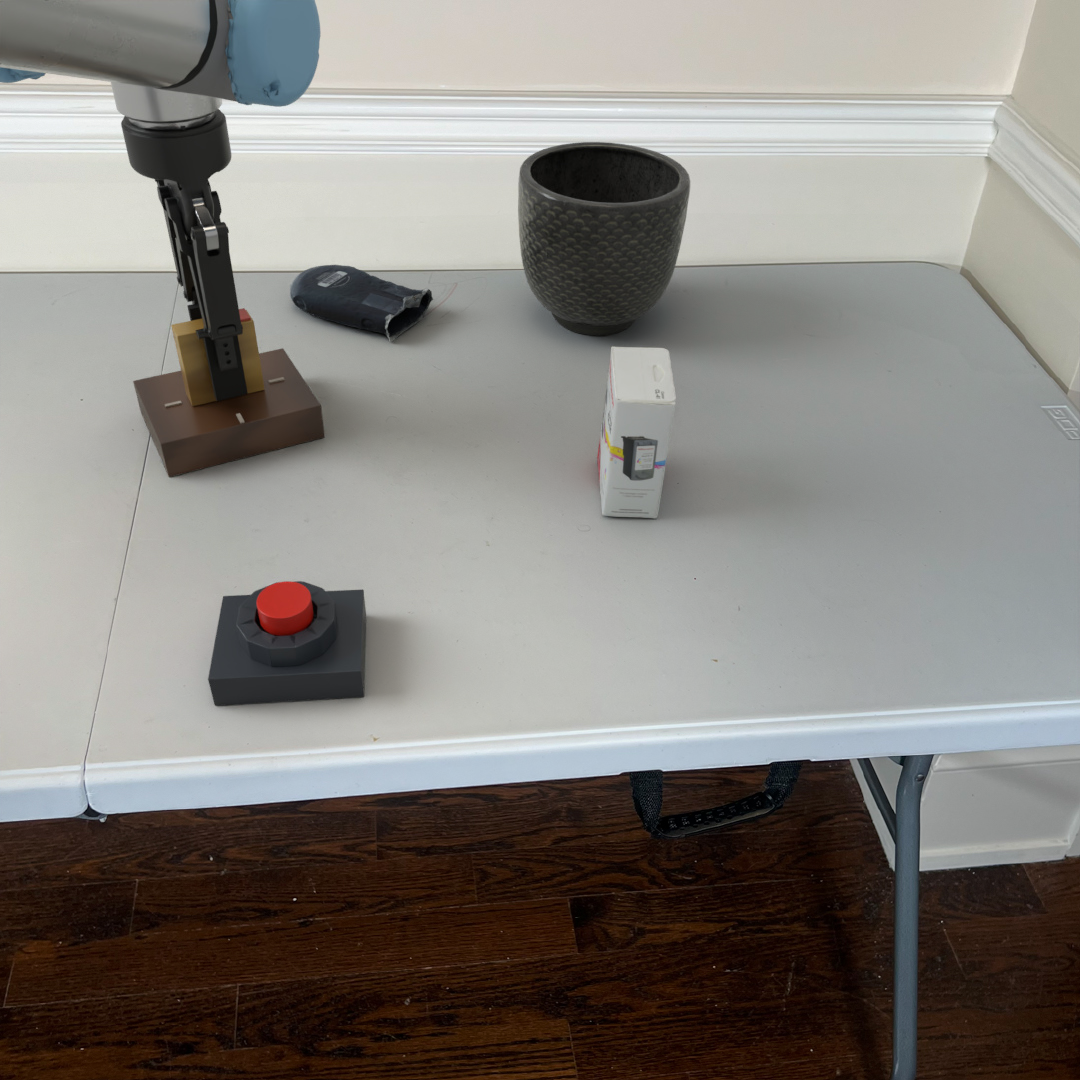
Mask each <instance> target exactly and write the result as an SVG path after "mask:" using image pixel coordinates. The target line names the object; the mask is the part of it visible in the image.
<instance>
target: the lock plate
mask: <svg viewBox="0 0 1080 1080" xmlns="http://www.w3.org/2000/svg"><path fill="white" fill-rule="evenodd" d="M259 357H260V363H261V369H262V376H263V382H264V388H265V390H262V391H257V392H253V393H249V394H246V395H242V396H237V397H233V398H229V399H225V400H220V401H214V402H210V403H206V404H201V405H197V406H192V405H191V403H190V401H189V399H188V397H187V395H186V390H185V386H184V381H183V377H182V372H181V370H177V371H171V372H168V373H163V374H159V375H158V374H157V375H154V376H151V377H144V378H140V379H136V380H133V381H132V383H133V386H134V392H135V394H136V398H137V402H138V406H139V410H140V414H141V416H142V418H143V420H144V423H145V425H146V427H147V430H148V433H149V434H150V437H151V439H152V441H153V444H154V446H155V449H156V451H157V453H158V456H159V458H160V460H161V462H162V465H163V467H164V470H165V472H166V474H167V476H168V478H171V477H176V476H179V475H183V474H187V473H190V472H194V471H198V470H202V469H207V468H210V467H214V466H217V465H222V464H226V463H229V462H230V463H231V462H234V461H238V460H241V459H246V458H250V457H253V456H257V455H262V454H265V453H269V452H272V451H276V450H280V449H281V450H282V449H285V448H288V447H293V446H296V445H300V444H304V443H308V442H312V441H316V440H321V439H323V438H325V437H326V436H325V434H326V433H325V426H324V419H323V418H324V417H323V411H322V410H323V409H322V405H321V403H320V401H319V400H318V399H317V397H316V395H315V394H314V392H312V390H311V388H310V386H309V385H308V384H307V382H306V381H305V379H304V377H303V376H302V374H301V373H300V372H299V369H297V367H296V365H295V364H294V362H293V361H292V360H291V357H290V356H289V355H288V353H287V352H286V351H285V349H284V348H278V349H273V350H269V351H263V352H259Z"/></svg>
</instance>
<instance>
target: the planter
mask: <svg viewBox="0 0 1080 1080" xmlns="http://www.w3.org/2000/svg"><path fill="white" fill-rule="evenodd" d="M517 181H518V182H517V183H518V185H517V186H518V187H517V191H518V192H517V193H518V195H517V196H518V197H517V198H518V200H517V219H518V236H519V247H520V256H521V263H522V266H523V271H524V276H525V278H526V281H527V284H528V286H529V288H530V290H531V292H532V294H533V295H534V297H535V298H536V299H537V300H538V302H539V303H540V305H542V306H543V307H544V308H545V309H546V310H547V311H548V312H550V313H551V315H552V316H553V318H554V320H555V321H556V322H557V323H558V325H560V326H562V327H563V328H565V329H567V330H568V331H571V332H573V333H577V334H581V335H586V336H609V335H614V334H619V333H621V332H623V331H625V330H627V329H628V328H630V327H631V326H632V325H633V324H634V323H635V321H636V320H637V319H638V318H640V317H641V316H643V315H644V314H646V313H647V312H649V311H650V310H651V309H652V308H653V307H654V306H655V305H656V304H657V303H658V302H659V301H660V299H661V298H662V296H663V295H664V293H665V292H666V290H667V288H668V287H669V284H670V282H671V279H672V277H673V274H674V272H675V268H676V265H677V261H678V257H679V253H680V250H681V245H682V241H683V236H684V230H685V226H686V221H687V215H688V214H687V212H688V205H689V199H690V193H691V178H690V174H689V173H688V170H686V168H685V167H684V166H683V165H682V164H681V163H679V162H678V161H677V160H676V159H673V158H671V157H670V156H668V155H665V154H663V153H661V152H658V151H655V150H653V149H649V148H645V147H640V146H637V145H630V144H625V143H616V142H606V141H605V142H603V141H601V142H600V141H583V142H570V143H564V144H559V145H552V146H550V147H546V148H543V149H540V150H539V151H536V152H534V153H532V154H531V155H529V156H528V157H527V158H526V159H525V160H524V161H523V162H522V163H521V165H520V167H519V173H518V180H517Z"/></svg>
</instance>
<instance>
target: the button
mask: <svg viewBox="0 0 1080 1080" xmlns="http://www.w3.org/2000/svg"><path fill="white" fill-rule="evenodd" d="M274 583H275V584H274ZM274 583H272V585H271V584H269V585H270V586H269V585H267V586H268V587H267V586H265V587H266V588H265V589H264V590H263V591H262V592H261V593H260V594H259V596H258V598H257V603H256V604H257V609H258V614H259V619H260V624H261V626H262V628H263V629H264V630H265V631H266V632H268V633H270V634H273V635H276V636H288V635H294V634H296V633H298V632H300V631H303V630H305V629H306V628H307V627H308V626H309V625H310V624H311V622H312V620H313V616H314V613H313V606H312V600H311V594H310V592H309V590H308V589H307V588H306V587H305V586H304V585H302V584H300V583H297V582H294V581H288V580H286V581H285V580H284V581H279V582H277V583H276V582H274Z"/></svg>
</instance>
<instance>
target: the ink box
mask: <svg viewBox="0 0 1080 1080" xmlns="http://www.w3.org/2000/svg"><path fill="white" fill-rule="evenodd" d="M676 399H677V395H676V389H675V383H674V375H673V370H672V361H671V358H670V350H668V349H666V348H664V347H640V346H639V347H636V346H635V347H633V346H632V347H631V346H615V345H614V346H611V348H610V358H609V367H608V375H607V383H606V391H605V398H604V404H603V405H604V406H603V412H602V420H601V427H600V428H601V429H600V433H599V434H600V435H599V442H598V449H597V457H596V460H597V471H598V481H599V482H598V483H599V493H600V495H599V496H600V504H601V505H600V506H601V514H602V516H605V517H615V518H616V517H618V518H619V517H620V518H644V519H657V518H658V515H659V511H660V510H659V509H660V505H661V504H660V503H661V497H662V492H663V486H664V485H663V484H664V479H665V473H666V466H667V465H666V464H667V460H668V453H669V448H670V441H671V435H672V429H673V428H672V427H673V423H674V417H675V416H674V415H675V409H676Z"/></svg>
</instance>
